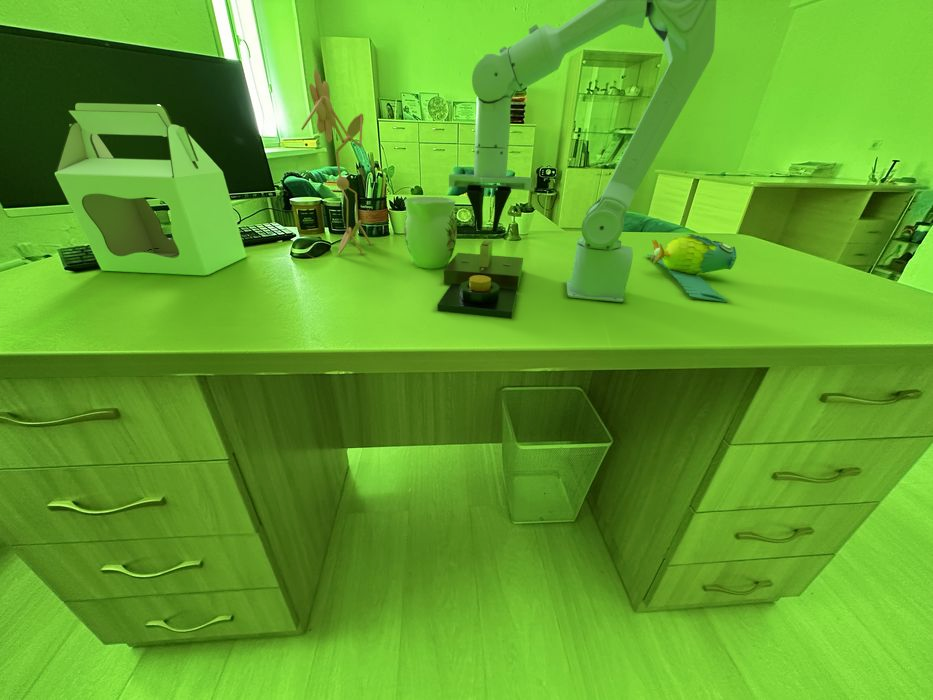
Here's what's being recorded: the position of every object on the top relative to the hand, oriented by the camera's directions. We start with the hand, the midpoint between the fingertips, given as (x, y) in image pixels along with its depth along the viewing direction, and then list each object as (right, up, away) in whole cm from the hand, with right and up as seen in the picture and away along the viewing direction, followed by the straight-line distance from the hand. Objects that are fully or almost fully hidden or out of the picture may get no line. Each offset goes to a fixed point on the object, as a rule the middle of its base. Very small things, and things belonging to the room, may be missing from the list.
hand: (487, 230), depth 69 cm
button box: (-2, -15, -7) cm, 16 cm away
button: (-2, -12, -8) cm, 15 cm away
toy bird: (+42, -7, +9) cm, 44 cm away
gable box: (-65, -5, +8) cm, 65 cm away
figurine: (-35, +2, +21) cm, 41 cm away
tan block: (0, -5, +3) cm, 6 cm away
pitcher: (-12, -3, +13) cm, 18 cm away
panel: (0, -8, +5) cm, 9 cm away
